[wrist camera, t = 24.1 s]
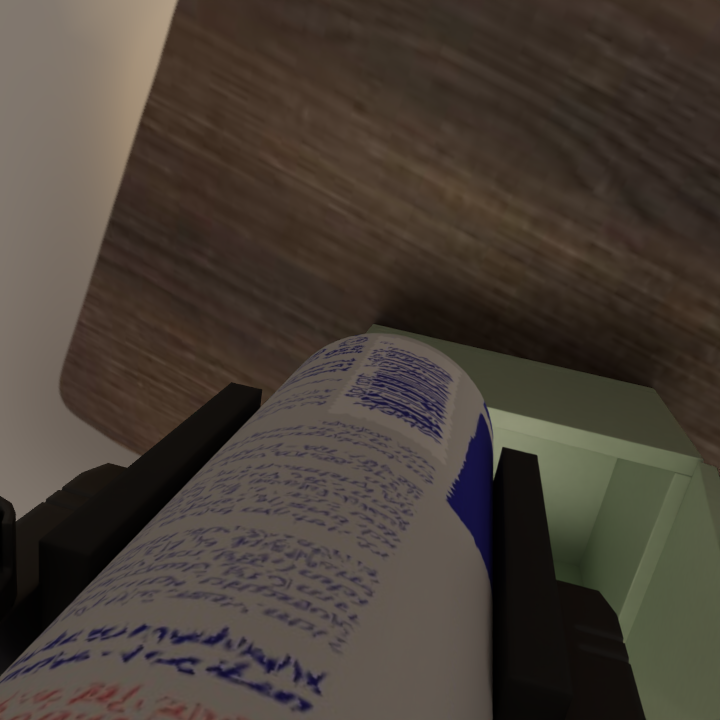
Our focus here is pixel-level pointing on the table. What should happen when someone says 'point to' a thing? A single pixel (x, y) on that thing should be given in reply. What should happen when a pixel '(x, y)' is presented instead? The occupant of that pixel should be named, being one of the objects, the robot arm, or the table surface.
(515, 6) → the table surface
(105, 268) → the table surface
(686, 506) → the hinged green cover
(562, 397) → the chest
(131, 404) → the table surface
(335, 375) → the beverage can
